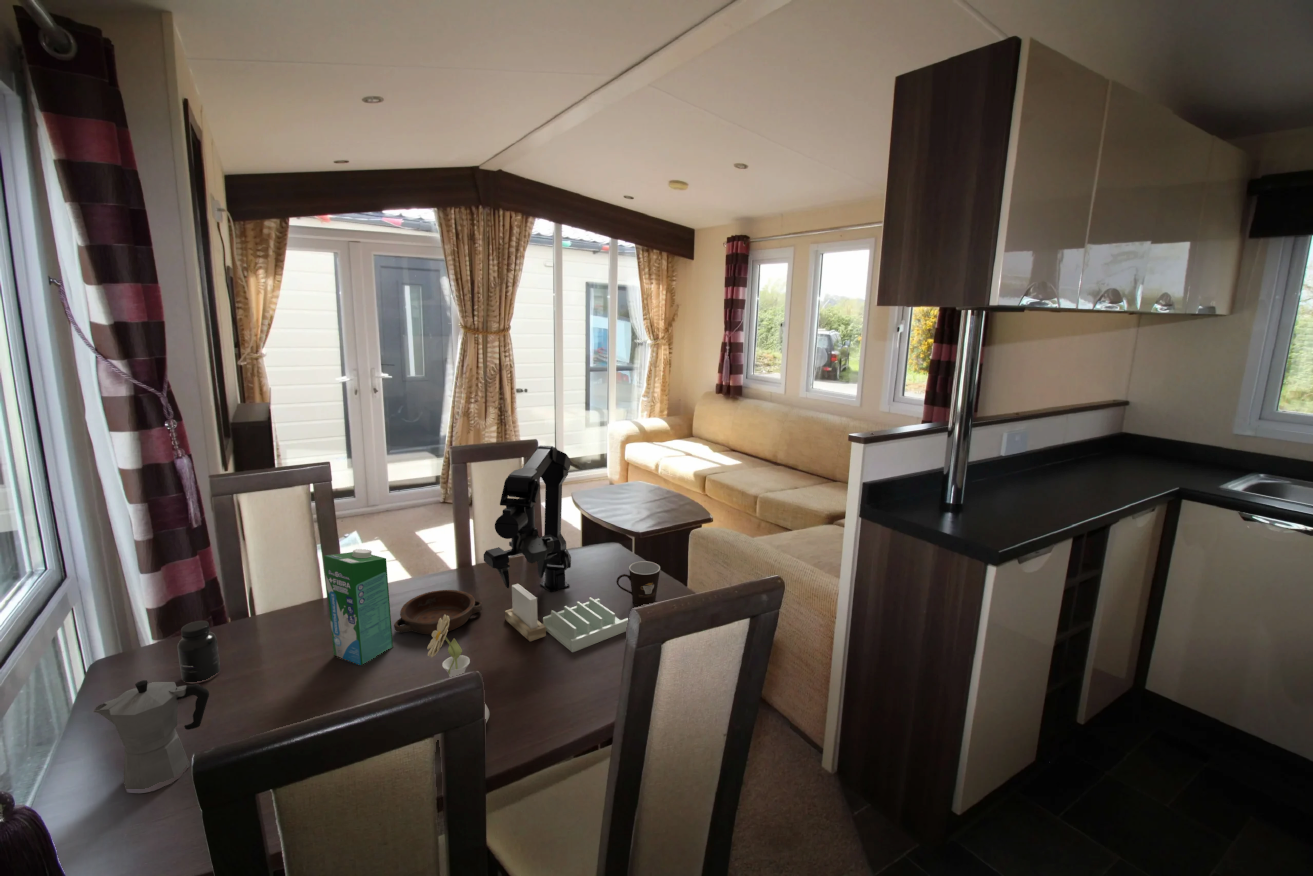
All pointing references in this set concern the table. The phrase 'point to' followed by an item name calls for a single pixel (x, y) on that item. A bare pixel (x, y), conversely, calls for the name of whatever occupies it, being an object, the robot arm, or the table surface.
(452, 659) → the flower in vase
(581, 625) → the rack
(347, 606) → the milk carton
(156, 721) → the coffeepot
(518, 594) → the white slab
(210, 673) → the supplement bottle
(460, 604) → the dish
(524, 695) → the table surface
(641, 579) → the coffee mug
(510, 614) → the stand
